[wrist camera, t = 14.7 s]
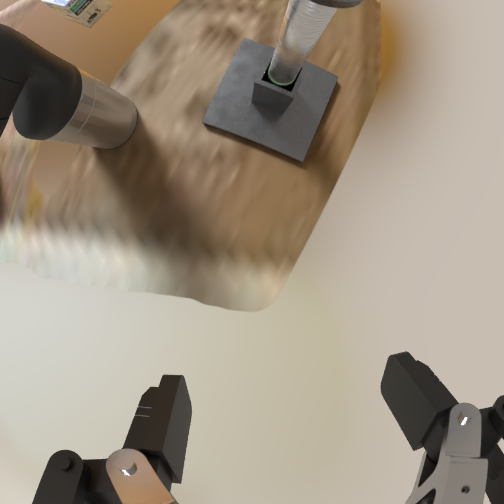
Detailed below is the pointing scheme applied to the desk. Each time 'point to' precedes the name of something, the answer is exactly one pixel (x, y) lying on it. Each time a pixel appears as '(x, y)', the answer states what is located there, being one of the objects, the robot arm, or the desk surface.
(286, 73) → the jack column
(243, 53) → the stand
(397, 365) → the robot arm
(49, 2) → the light bulb box
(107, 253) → the desk surface
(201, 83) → the desk surface
